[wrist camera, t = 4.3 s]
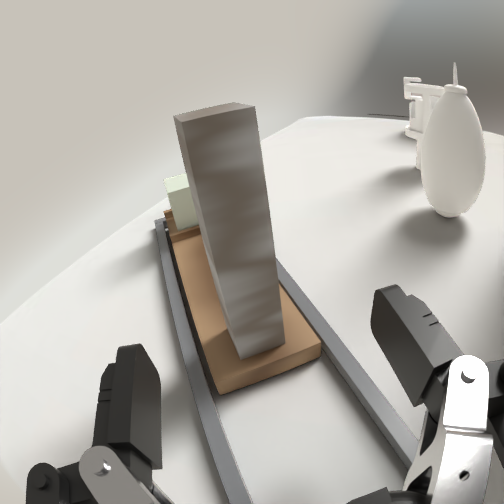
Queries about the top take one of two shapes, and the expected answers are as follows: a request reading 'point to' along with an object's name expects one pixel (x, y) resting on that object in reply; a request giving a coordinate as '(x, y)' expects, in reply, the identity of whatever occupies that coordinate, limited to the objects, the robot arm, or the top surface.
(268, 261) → the wooden board with post
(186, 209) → the block
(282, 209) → the top surface
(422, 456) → the robot arm
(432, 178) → the sauce bottle
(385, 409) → the track
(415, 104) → the white tall plastic piece
